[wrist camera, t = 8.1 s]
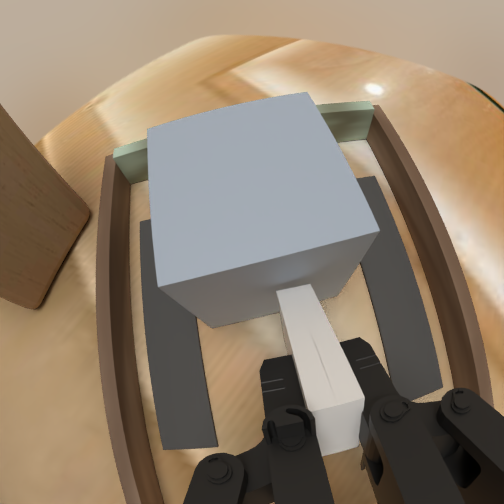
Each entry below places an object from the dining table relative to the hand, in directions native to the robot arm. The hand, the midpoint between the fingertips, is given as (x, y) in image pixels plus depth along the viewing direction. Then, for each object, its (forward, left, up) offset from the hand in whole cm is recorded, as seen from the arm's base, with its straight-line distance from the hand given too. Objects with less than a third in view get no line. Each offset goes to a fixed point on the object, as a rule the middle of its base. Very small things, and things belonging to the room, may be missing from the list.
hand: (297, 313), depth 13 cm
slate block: (-1, +5, -5) cm, 7 cm away
